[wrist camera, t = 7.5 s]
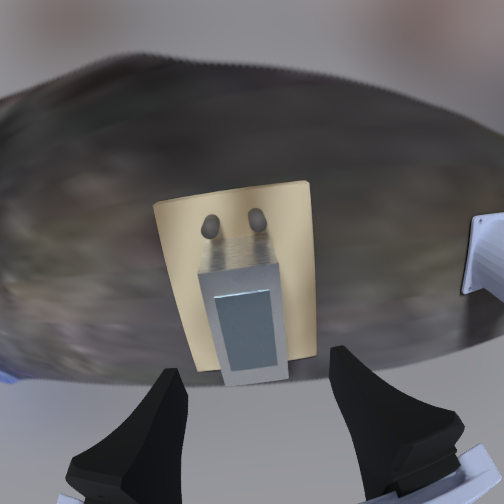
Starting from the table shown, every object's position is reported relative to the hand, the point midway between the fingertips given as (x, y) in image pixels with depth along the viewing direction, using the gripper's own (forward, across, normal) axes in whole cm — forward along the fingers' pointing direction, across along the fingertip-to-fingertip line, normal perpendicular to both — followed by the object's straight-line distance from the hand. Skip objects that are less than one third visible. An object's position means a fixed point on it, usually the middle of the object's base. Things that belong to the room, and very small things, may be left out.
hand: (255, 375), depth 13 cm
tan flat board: (+9, 0, 0) cm, 9 cm away
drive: (+8, 0, 0) cm, 8 cm away
